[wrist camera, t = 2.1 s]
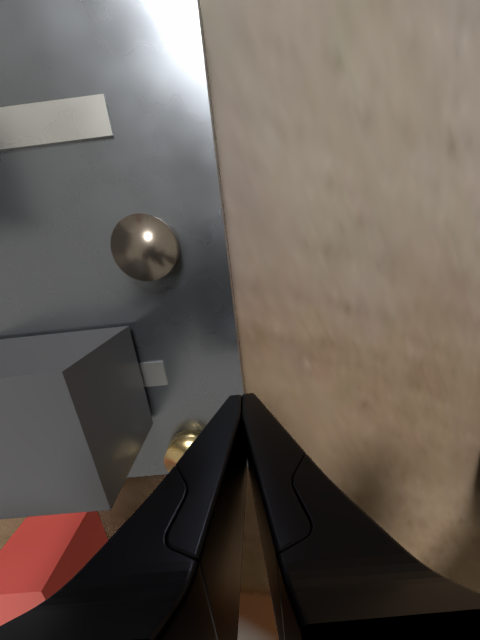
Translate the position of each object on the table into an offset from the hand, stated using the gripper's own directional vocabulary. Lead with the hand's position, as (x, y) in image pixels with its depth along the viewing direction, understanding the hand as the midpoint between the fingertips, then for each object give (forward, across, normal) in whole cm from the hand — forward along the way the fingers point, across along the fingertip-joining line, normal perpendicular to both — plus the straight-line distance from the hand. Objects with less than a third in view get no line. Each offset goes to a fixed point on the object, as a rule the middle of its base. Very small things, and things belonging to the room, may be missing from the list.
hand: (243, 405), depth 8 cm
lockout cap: (+5, +13, +12) cm, 18 cm away
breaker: (+3, +8, 0) cm, 9 cm away
